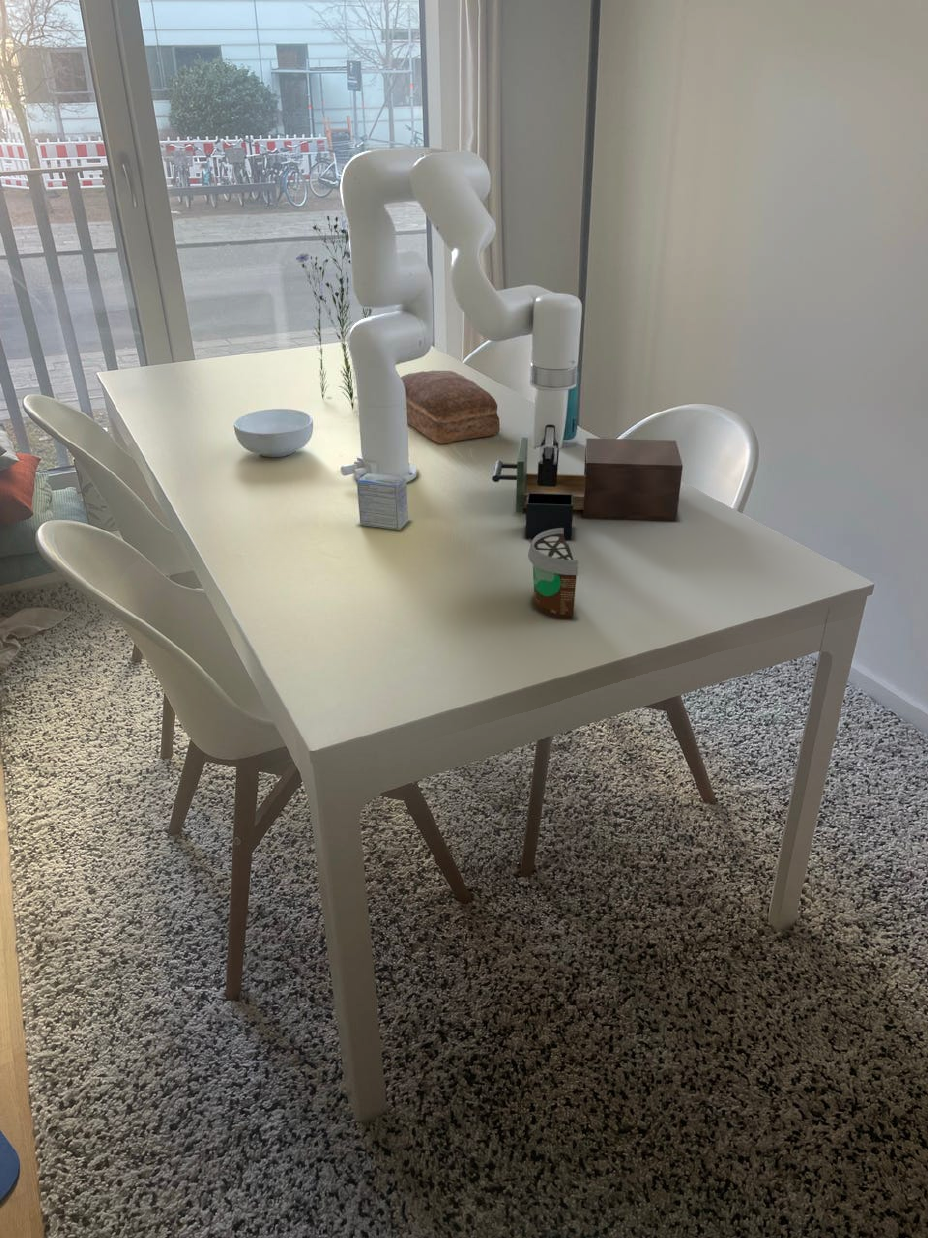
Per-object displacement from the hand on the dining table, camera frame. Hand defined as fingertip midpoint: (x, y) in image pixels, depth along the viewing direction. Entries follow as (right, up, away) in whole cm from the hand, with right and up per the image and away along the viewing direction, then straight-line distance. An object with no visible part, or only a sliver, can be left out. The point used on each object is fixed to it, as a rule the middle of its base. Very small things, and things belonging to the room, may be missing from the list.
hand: (547, 474), depth 155 cm
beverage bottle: (+8, +15, +48) cm, 50 cm away
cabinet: (+16, -3, +16) cm, 23 cm away
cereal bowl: (-56, +12, +44) cm, 72 cm away
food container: (-2, -23, -18) cm, 29 cm away
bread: (-19, +22, +60) cm, 67 cm away
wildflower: (-42, +30, +76) cm, 92 cm away
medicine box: (-29, -8, +9) cm, 31 cm away
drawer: (+2, -2, +17) cm, 17 cm away
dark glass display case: (+1, -10, +5) cm, 11 cm away
